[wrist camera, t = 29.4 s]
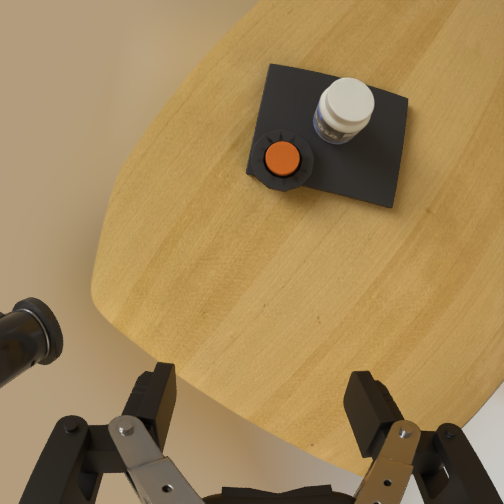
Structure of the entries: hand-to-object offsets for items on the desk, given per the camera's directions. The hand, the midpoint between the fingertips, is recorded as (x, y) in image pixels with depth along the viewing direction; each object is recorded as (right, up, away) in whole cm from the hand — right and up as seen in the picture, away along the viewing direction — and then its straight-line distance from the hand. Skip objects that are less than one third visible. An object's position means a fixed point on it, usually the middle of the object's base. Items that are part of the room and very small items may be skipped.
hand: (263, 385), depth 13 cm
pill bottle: (+8, +19, +17) cm, 27 cm away
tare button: (+3, +15, +17) cm, 23 cm away
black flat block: (+8, +19, +18) cm, 28 cm away
